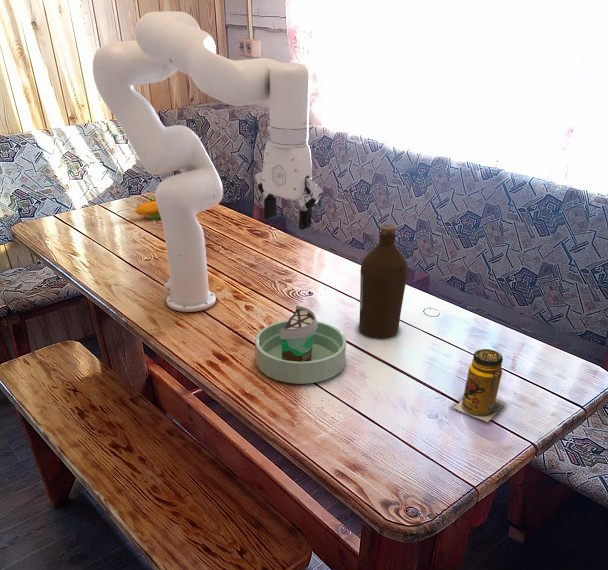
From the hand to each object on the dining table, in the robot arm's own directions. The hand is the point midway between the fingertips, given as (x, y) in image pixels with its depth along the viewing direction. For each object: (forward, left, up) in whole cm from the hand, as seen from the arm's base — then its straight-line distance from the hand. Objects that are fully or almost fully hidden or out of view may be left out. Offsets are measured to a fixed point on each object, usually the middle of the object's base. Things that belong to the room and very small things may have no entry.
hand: (287, 222), depth 126 cm
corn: (-91, +40, -27) cm, 103 cm away
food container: (+11, -9, -26) cm, 30 cm away
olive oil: (+16, +15, -27) cm, 34 cm away
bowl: (+11, -9, -26) cm, 30 cm away
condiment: (+49, 0, -27) cm, 56 cm away
